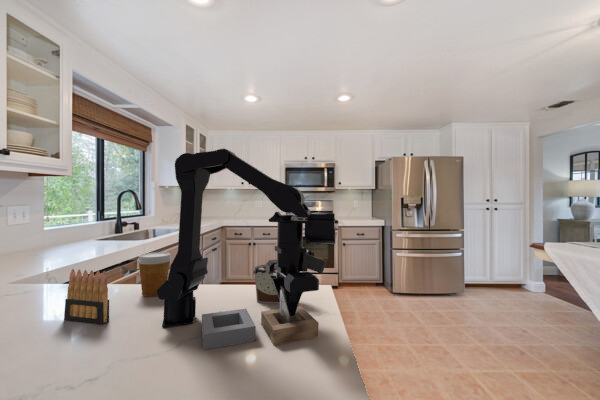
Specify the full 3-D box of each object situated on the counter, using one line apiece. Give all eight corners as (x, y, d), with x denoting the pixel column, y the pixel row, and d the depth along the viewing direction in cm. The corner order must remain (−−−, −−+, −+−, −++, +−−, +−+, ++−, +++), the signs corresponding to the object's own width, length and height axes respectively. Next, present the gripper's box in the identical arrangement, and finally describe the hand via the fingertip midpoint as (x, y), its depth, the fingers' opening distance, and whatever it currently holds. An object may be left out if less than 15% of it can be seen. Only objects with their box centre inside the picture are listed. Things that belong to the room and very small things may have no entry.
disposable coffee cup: (158, 286, 89) (159, 251, 89) (177, 291, 84) (178, 253, 85) (129, 294, 80) (130, 255, 81) (148, 300, 76) (149, 258, 76)
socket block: (203, 350, 50) (203, 334, 50) (201, 327, 60) (201, 314, 60) (255, 340, 54) (255, 326, 54) (245, 321, 63) (246, 308, 63)
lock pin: (282, 335, 56) (283, 293, 57) (277, 327, 60) (277, 288, 60) (300, 332, 58) (300, 291, 58) (293, 325, 62) (294, 286, 62)
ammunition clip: (109, 321, 62) (111, 270, 62) (102, 325, 60) (104, 272, 61) (71, 317, 64) (73, 267, 64) (63, 320, 62) (65, 269, 62)
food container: (296, 296, 81) (297, 264, 81) (294, 304, 75) (294, 268, 75) (257, 294, 82) (258, 262, 83) (252, 301, 76) (252, 267, 76)
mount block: (273, 345, 52) (273, 330, 53) (261, 324, 62) (261, 311, 62) (318, 336, 56) (318, 322, 56) (300, 318, 66) (300, 305, 66)
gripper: (342, 247, 54) (341, 323, 54) (305, 236, 71) (305, 295, 71) (291, 249, 50) (290, 333, 49) (265, 238, 67) (264, 299, 67)
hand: (288, 312), depth 59 cm, fingers closed on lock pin, 4 cm apart
